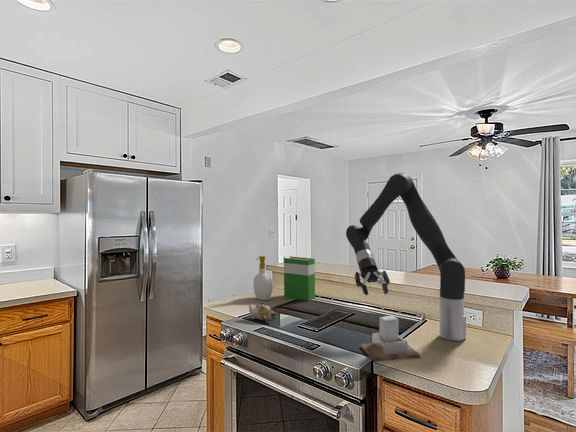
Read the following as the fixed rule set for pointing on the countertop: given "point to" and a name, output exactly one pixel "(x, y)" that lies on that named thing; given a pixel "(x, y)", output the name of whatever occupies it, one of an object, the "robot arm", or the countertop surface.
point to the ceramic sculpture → (262, 312)
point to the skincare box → (388, 328)
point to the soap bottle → (262, 282)
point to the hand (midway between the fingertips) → (376, 293)
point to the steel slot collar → (389, 345)
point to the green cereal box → (299, 278)
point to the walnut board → (377, 356)
